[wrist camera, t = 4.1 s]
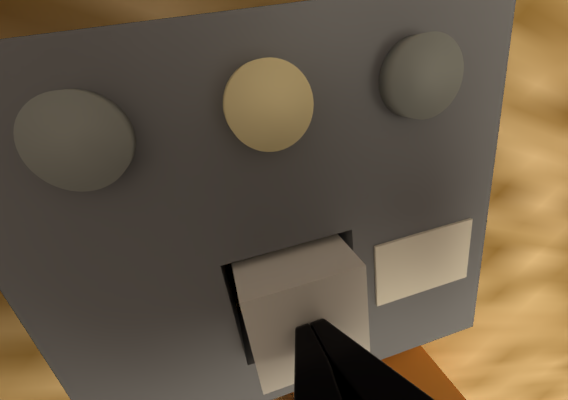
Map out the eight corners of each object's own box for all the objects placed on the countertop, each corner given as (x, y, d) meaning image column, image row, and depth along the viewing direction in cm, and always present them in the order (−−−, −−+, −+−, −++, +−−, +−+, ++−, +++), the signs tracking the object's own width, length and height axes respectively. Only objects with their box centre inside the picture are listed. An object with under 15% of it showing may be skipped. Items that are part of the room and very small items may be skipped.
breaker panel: (124, 389, 12) (104, 480, 10) (-49, 63, 8) (-191, 55, 5) (430, 288, 15) (485, 337, 12) (447, -4, 10) (543, -34, 7)
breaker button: (245, 312, 12) (263, 394, 9) (226, 236, 11) (239, 303, 8) (326, 287, 13) (370, 356, 10) (318, 212, 11) (366, 265, 8)
